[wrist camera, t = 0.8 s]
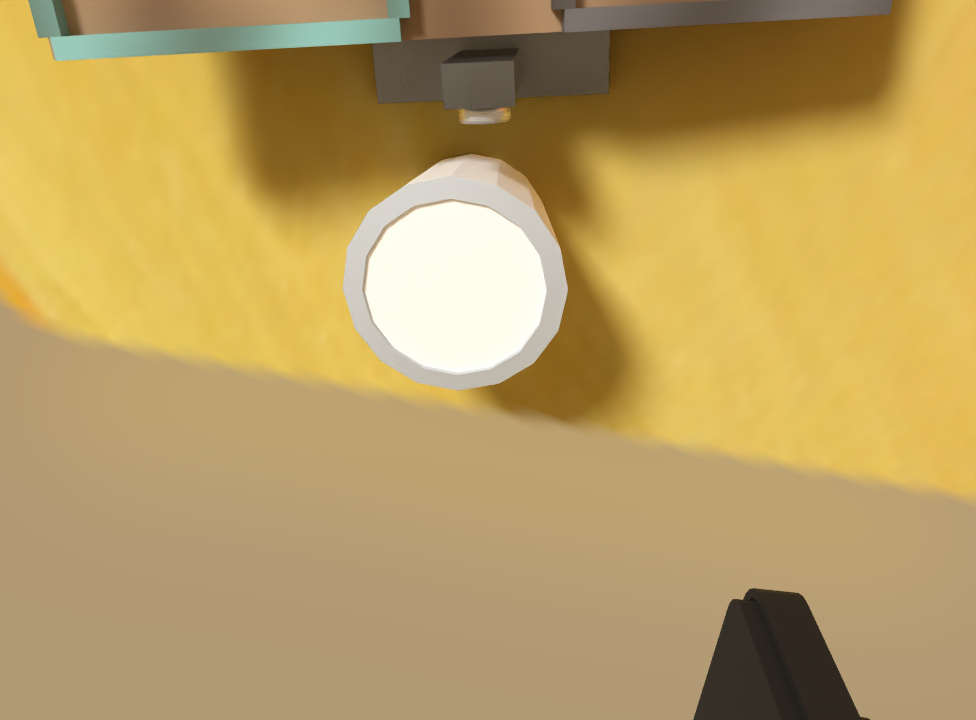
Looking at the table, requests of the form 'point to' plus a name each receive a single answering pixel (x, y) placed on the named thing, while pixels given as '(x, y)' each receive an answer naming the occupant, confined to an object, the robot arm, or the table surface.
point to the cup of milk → (457, 275)
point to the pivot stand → (491, 70)
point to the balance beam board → (376, 21)
